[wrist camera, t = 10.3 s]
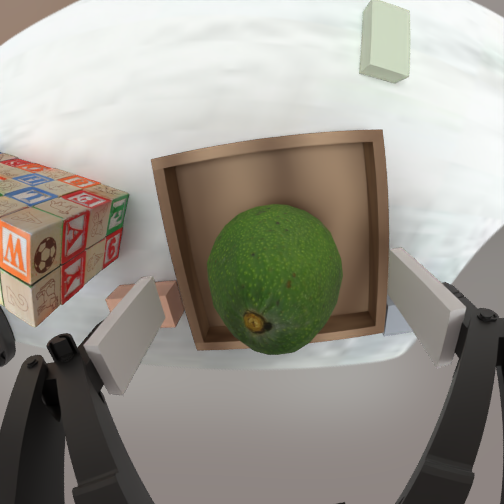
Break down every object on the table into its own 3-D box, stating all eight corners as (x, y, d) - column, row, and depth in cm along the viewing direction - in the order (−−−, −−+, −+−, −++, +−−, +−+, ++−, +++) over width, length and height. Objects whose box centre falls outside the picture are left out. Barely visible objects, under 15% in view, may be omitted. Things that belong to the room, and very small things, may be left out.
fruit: (292, 171, 21) (312, 199, 9) (345, 258, 22) (397, 356, 11) (204, 228, 23) (139, 308, 11) (261, 306, 24) (249, 421, 13)
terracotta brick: (129, 311, 27) (116, 328, 24) (120, 284, 26) (105, 299, 23) (185, 309, 26) (175, 327, 23) (176, 279, 25) (165, 295, 22)
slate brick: (374, 317, 25) (384, 336, 22) (377, 288, 24) (388, 305, 21) (429, 309, 24) (442, 325, 22) (434, 281, 23) (449, 296, 21)
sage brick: (393, 84, 18) (409, 76, 15) (358, 73, 18) (369, 64, 15) (396, 23, 16) (409, 10, 13) (362, 12, 16) (372, -2, 13)
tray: (204, 330, 27) (197, 350, 24) (166, 157, 21) (150, 159, 19) (374, 313, 25) (383, 332, 22) (368, 131, 20) (382, 129, 17)
